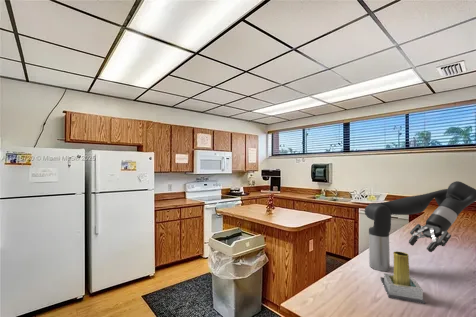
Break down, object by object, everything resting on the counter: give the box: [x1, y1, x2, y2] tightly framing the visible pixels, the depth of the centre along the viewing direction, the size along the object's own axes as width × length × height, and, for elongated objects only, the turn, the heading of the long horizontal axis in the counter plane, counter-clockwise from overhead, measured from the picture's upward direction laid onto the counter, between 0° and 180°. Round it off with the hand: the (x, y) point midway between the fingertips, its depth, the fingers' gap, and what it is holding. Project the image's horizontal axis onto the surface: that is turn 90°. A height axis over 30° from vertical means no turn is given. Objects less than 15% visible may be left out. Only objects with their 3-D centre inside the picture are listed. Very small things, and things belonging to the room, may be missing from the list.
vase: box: [392, 250, 411, 286], centre depth 99 cm, size 6×6×14 cm
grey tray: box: [380, 273, 426, 305], centre depth 101 cm, size 17×12×5 cm
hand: (419, 247), depth 101 cm, fingers open, 8 cm apart
